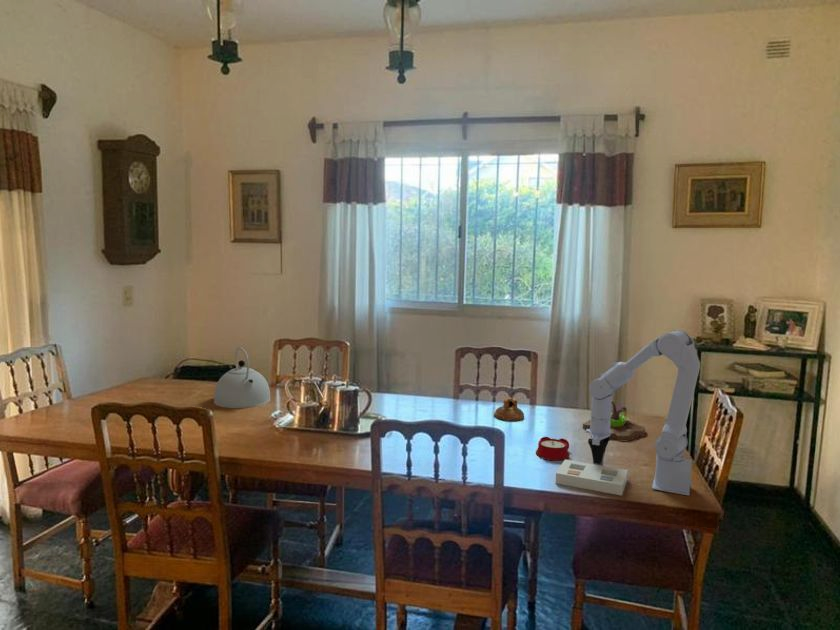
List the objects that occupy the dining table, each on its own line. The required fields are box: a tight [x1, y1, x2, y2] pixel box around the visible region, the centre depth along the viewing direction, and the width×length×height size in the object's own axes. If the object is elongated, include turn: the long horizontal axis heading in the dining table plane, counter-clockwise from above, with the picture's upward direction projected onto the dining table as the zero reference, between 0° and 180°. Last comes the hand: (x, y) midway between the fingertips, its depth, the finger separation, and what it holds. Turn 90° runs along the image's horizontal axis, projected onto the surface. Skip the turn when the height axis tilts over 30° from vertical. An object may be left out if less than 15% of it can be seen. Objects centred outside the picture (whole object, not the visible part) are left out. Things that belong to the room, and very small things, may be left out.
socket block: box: [555, 459, 629, 496], centre depth 171 cm, size 18×12×3 cm, turn 65°
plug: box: [592, 441, 605, 466], centre depth 181 cm, size 3×3×9 cm
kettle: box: [213, 346, 271, 409], centre depth 248 cm, size 25×23×22 cm
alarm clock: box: [535, 436, 570, 462], centre depth 194 cm, size 10×6×15 cm
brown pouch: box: [493, 397, 525, 422], centre depth 233 cm, size 12×12×7 cm
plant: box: [582, 401, 646, 441], centre depth 218 cm, size 20×20×11 cm
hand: (598, 461), depth 181 cm, fingers closed on plug, 3 cm apart
